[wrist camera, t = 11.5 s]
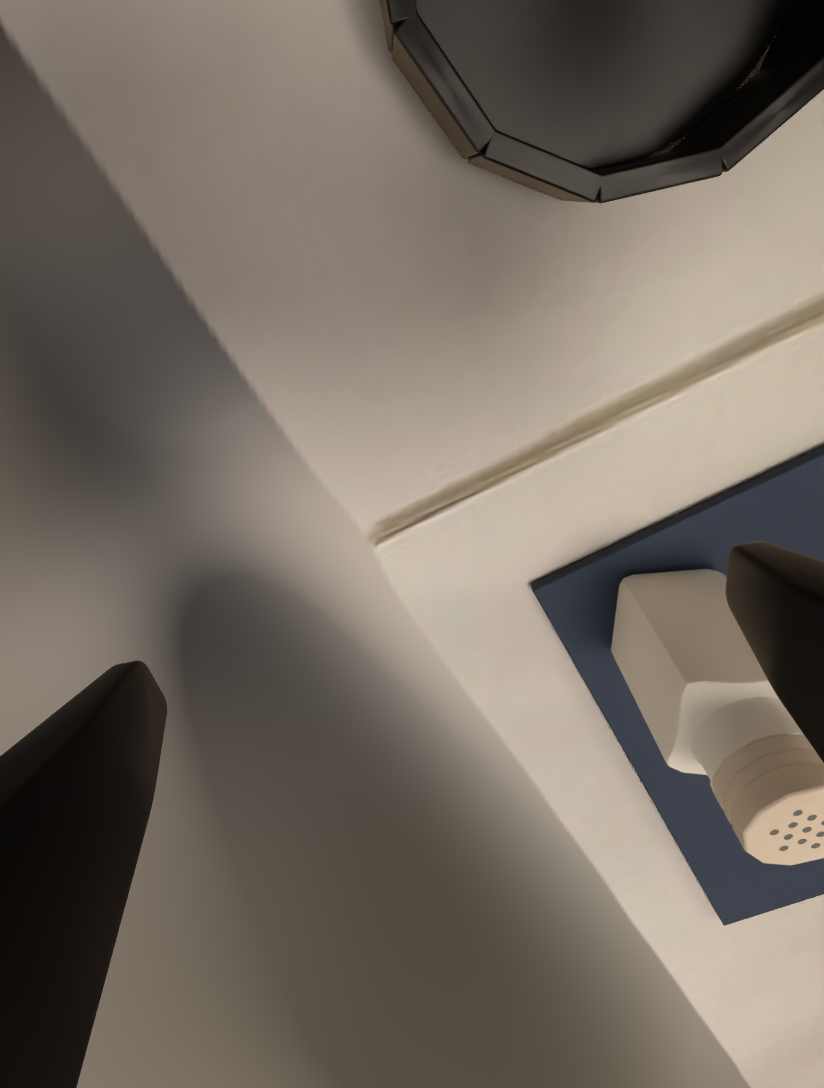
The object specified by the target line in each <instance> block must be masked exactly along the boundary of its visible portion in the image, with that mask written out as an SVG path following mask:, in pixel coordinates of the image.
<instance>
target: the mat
mask: <svg viewBox="0 0 824 1088" xmlns="http://www.w3.org/2000/svg"><path fill="white" fill-rule="evenodd" d="M754 541H763V542H767V543H770V544H773V545H776V546H779V547H782V548H785V549H788V550H791V551H794V552H797V553H800V554H803V555H806V556H809V557H812V558H815V559H818V560H821V561H824V446H822V447H819V448H817V449H815V450H813V451H811V452H809V453H807V454H805V455H803V456H800V457H798V458H796V459H794V460H792V461H790V462H788V463H786V464H784V465H781V466H779V467H777V468H775V469H773V470H771V471H769V472H767V473H764V474H762V475H760V476H758V477H756V478H754V479H752V480H750V481H748V482H745V483H743V484H741V485H739V486H737V487H735V488H733V489H731V490H729V491H726V492H724V493H722V494H720V495H718V496H716V497H714V498H712V499H710V500H707V501H705V502H703V503H701V504H699V505H697V506H695V507H693V508H691V509H688V510H686V511H684V512H682V513H680V514H678V515H676V516H674V517H672V518H669V519H667V520H665V521H663V522H661V523H659V524H657V525H655V526H653V527H650V528H648V529H646V530H644V531H642V532H640V533H638V534H636V535H634V536H631V537H629V538H627V539H625V540H623V541H621V542H619V543H617V544H615V545H612V546H610V547H608V548H606V549H604V550H602V551H600V552H598V553H596V554H593V555H591V556H589V557H587V558H585V559H583V560H581V561H579V562H576V563H574V564H572V565H570V566H568V567H566V568H564V569H562V570H560V571H557V572H555V573H553V574H551V575H549V576H547V577H545V578H543V579H541V580H538V581H536V582H534V583H532V584H531V587H532V589H533V592H534V594H535V595H536V597H537V599H538V601H539V602H540V604H541V606H542V608H543V609H544V611H545V613H546V615H547V616H548V618H549V620H550V622H551V623H552V625H553V627H554V629H555V630H556V632H557V634H558V636H559V637H560V639H561V641H562V643H563V644H564V646H565V648H566V650H567V651H568V653H569V655H570V657H571V658H572V660H573V662H574V664H575V665H576V667H577V669H578V671H579V672H580V674H581V676H582V678H583V679H584V681H585V683H586V685H587V686H588V688H589V690H590V692H591V693H592V695H593V697H594V699H595V700H596V702H597V704H598V706H599V707H600V709H601V711H602V713H603V714H604V716H605V718H606V720H607V721H608V723H609V725H610V727H611V728H612V730H613V732H614V734H615V735H616V737H617V739H618V741H619V742H620V744H621V746H622V748H623V750H624V751H625V753H626V755H627V757H628V758H629V760H630V762H631V764H632V765H633V767H634V769H635V771H636V772H637V774H638V776H639V778H640V779H641V781H642V783H643V785H644V786H645V788H646V790H647V792H648V793H649V795H650V797H651V799H652V800H653V802H654V804H655V806H656V807H657V809H658V811H659V813H660V814H661V816H662V818H663V820H664V821H665V823H666V825H667V827H668V828H669V830H670V832H671V834H672V835H673V837H674V839H675V841H676V842H677V844H678V846H679V848H680V849H681V851H682V853H683V855H684V856H685V858H686V860H687V862H688V863H689V865H690V867H691V869H692V870H693V872H694V874H695V876H696V877H697V879H698V881H699V883H700V884H701V886H702V888H703V890H704V891H705V893H706V895H707V897H708V898H709V900H710V902H711V904H712V905H713V907H714V909H715V911H716V912H717V914H718V916H719V918H720V919H721V921H722V923H723V925H728V924H731V923H734V922H737V921H740V920H743V919H747V918H750V917H753V916H756V915H759V914H762V913H765V912H769V911H772V910H775V909H778V908H781V907H784V906H788V905H791V904H794V903H797V902H800V901H803V900H806V899H810V898H813V897H816V896H819V895H822V894H824V858H822V859H817V860H813V861H808V862H804V863H800V864H795V865H780V864H768V863H763V862H761V861H760V860H758V859H757V858H755V857H754V856H752V855H751V854H749V853H748V852H746V851H745V850H744V848H743V846H742V845H741V843H740V841H739V839H738V837H737V835H736V834H735V832H734V830H733V828H732V824H730V823H729V821H728V819H727V817H726V815H725V813H724V810H722V808H721V806H720V804H719V803H718V801H717V799H716V797H715V795H714V793H713V791H712V788H711V785H710V779H709V777H708V775H703V774H692V773H683V772H681V771H678V770H676V769H674V768H671V767H669V766H668V765H667V764H666V762H665V760H664V758H663V756H662V754H661V752H660V749H659V747H658V745H657V743H656V741H655V739H654V737H653V735H652V733H651V731H650V729H649V727H648V725H647V723H646V721H645V719H644V717H643V715H642V713H641V711H640V709H639V707H638V705H637V703H636V701H635V699H634V697H633V695H632V693H631V691H630V689H629V687H628V685H627V683H626V681H625V679H624V677H623V675H622V673H621V671H620V669H619V667H618V665H617V663H616V660H615V658H614V656H613V654H612V651H611V646H612V638H613V630H614V622H615V615H616V607H617V599H618V591H619V585H620V583H621V581H622V579H623V578H625V577H628V576H630V575H634V574H647V573H659V572H672V571H684V570H697V569H710V570H715V571H718V572H720V573H722V574H724V575H725V576H727V562H728V554H729V551H730V549H731V548H732V547H733V546H735V545H739V544H744V543H749V542H754Z"/></svg>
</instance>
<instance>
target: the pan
mask: <svg viewBox="0 0 824 1088" xmlns="http://www.w3.org/2000/svg"><path fill="white" fill-rule="evenodd" d="M380 6H381V11H382V17H383V23H384V28H385V34H386V40H387V45H388V50H389V51H391V52H392V59H393V61H394V62H395V64H396V65H397V67H398V68H399V69H400V71H401V72H402V74H403V75H404V76H405V78H406V79H407V81H408V82H409V83H410V85H411V86H412V88H413V89H414V91H415V92H416V93H417V95H418V96H419V98H420V99H421V100H422V102H423V103H424V105H425V106H426V107H427V109H428V110H429V112H430V113H431V114H432V116H433V117H434V119H435V120H436V121H437V123H438V124H439V126H440V127H441V128H442V130H443V131H444V133H445V134H446V136H447V137H448V138H449V140H450V141H451V143H452V144H453V145H454V147H455V148H456V150H457V151H458V152H459V154H460V155H461V157H462V158H466V157H468V159H467V162H468V163H470V164H473V165H475V166H478V167H480V168H483V169H485V170H488V171H490V172H492V173H495V174H497V175H500V176H502V177H505V178H507V179H510V180H512V181H515V182H517V183H520V184H522V185H525V186H527V187H530V188H532V189H535V190H537V191H540V192H542V193H545V194H547V195H550V196H552V197H555V198H557V199H560V200H565V201H578V202H591V203H604V202H609V201H613V200H617V199H622V198H626V197H630V196H635V195H639V194H643V193H648V192H652V191H656V190H661V189H665V188H669V187H674V186H678V185H682V184H687V183H691V182H695V181H700V180H704V179H708V178H713V177H717V176H720V175H721V174H722V172H727V171H729V170H730V169H731V168H732V167H734V166H735V165H736V164H737V163H738V162H739V161H741V160H742V159H743V158H744V157H745V156H746V155H748V154H749V153H750V152H751V151H752V150H753V149H755V148H756V147H757V146H758V145H759V144H760V143H762V142H763V141H764V140H765V139H766V138H767V137H769V136H770V135H771V134H772V133H773V132H774V131H776V130H777V129H778V128H779V127H780V126H781V125H783V124H784V123H785V122H786V121H787V120H788V119H790V118H791V117H792V116H793V115H794V114H795V113H797V112H798V111H799V110H800V109H801V108H802V107H804V106H805V105H806V104H807V103H808V102H809V101H811V100H812V99H813V98H814V97H815V96H816V95H818V94H819V93H820V92H821V91H822V90H823V89H824V0H380ZM785 16H786V17H785ZM784 18H785V19H784ZM783 20H784V21H783ZM782 22H783V23H782ZM781 24H782V25H781ZM780 26H781V27H780ZM779 27H780V29H779ZM778 29H779V31H778ZM777 31H778V33H777ZM776 33H777V35H776ZM775 35H776V37H775ZM774 37H775V39H774V41H773V43H772V45H771V48H770V50H769V52H768V54H767V56H766V58H765V60H764V62H763V64H762V66H761V68H760V70H759V71H758V72H757V73H756V74H755V75H754V76H753V77H752V78H751V79H749V80H748V81H747V82H746V83H745V84H744V85H743V86H742V87H741V88H739V89H738V90H737V91H736V92H735V93H734V94H733V95H732V96H731V97H729V96H730V95H731V94H732V93H733V92H734V91H735V90H736V88H737V87H738V86H739V85H740V84H741V82H742V81H743V80H744V79H745V77H746V76H747V75H748V74H749V73H750V71H751V70H752V69H753V68H754V66H755V65H756V64H757V62H758V61H759V59H760V58H761V56H762V55H763V53H764V52H765V50H766V49H767V47H768V46H769V44H770V43H771V41H772V40H773V38H774ZM728 97H729V98H728ZM727 98H728V99H727ZM726 99H727V100H726ZM725 100H726V101H725ZM724 101H725V102H724ZM723 102H724V103H723ZM722 103H723V104H722ZM721 104H722V105H721ZM705 118H706V119H705ZM704 119H705V120H704ZM703 120H704V121H703ZM702 121H703V122H702ZM700 122H702V123H700ZM699 123H700V124H699ZM698 124H699V125H698ZM697 125H698V126H697ZM695 126H697V127H696V128H695V129H694V130H693V131H692V132H690V133H689V134H688V135H687V136H686V137H685V138H684V139H683V140H681V141H680V142H679V143H678V144H677V145H676V146H675V147H674V148H673V149H671V150H670V151H669V152H668V153H664V154H660V155H656V156H651V157H647V158H643V159H639V160H634V159H637V158H640V157H643V156H645V155H647V154H650V153H652V152H654V151H656V150H658V149H660V148H663V147H665V146H667V145H668V144H670V143H672V142H673V141H675V140H676V139H678V138H679V137H681V136H683V135H684V134H686V133H687V132H689V131H690V130H692V129H693V128H694V127H695ZM631 160H634V161H631ZM627 161H630V162H627ZM624 162H626V163H624ZM611 165H613V166H611ZM604 166H609V167H604ZM598 167H604V168H600V169H596V170H592V169H589V168H598Z"/></svg>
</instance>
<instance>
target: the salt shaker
mask: <svg viewBox="0 0 824 1088" xmlns="http://www.w3.org/2000/svg"><path fill="white" fill-rule="evenodd" d="M611 651H612V654H613V656H614V658H615V660H616V663H617V665H618V667H619V669H620V671H621V673H622V675H623V677H624V679H625V681H626V683H627V685H628V687H629V689H630V691H631V693H632V695H633V697H634V699H635V701H636V703H637V705H638V707H639V709H640V711H641V713H642V715H643V717H644V719H645V721H646V723H647V725H648V727H649V729H650V731H651V733H652V735H653V737H654V739H655V741H656V743H657V745H658V747H659V749H660V752H661V754H662V756H663V758H664V760H665V762H666V764H667V765H668V766H669V767H671V768H674V769H676V770H678V771H681V772H683V773H692V774H703V775H708V777H709V779H710V785H711V788H712V791H713V793H714V795H715V797H716V799H717V801H718V803H719V804H720V806H721V808H722V810H724V813H725V815H726V817H727V819H728V821H729V823H730V824H732V828H733V830H734V832H735V834H736V835H737V837H738V839H739V841H740V843H741V845H742V846H743V848H744V850H745V851H746V852H748V853H749V854H751V855H752V856H754V857H755V858H757V859H758V860H760V861H761V862H763V863H768V864H780V865H795V864H800V863H804V862H808V861H813V860H817V859H822V858H824V763H823V761H822V760H821V759H820V757H819V756H818V754H817V753H816V751H815V750H814V748H813V747H812V746H811V744H810V743H809V741H808V740H807V738H806V737H805V736H804V734H803V733H802V731H801V730H800V728H799V727H798V725H797V724H796V723H795V721H794V720H793V718H792V717H791V715H790V714H789V712H788V711H787V710H786V708H785V707H784V705H783V704H782V702H781V701H780V699H779V698H778V696H777V695H776V693H775V691H774V690H773V688H772V686H771V684H770V683H769V681H768V679H767V677H766V675H765V674H764V672H763V670H762V668H761V666H760V664H759V662H758V660H757V659H756V657H755V655H754V653H753V651H752V649H751V647H750V645H749V644H748V642H747V640H746V638H745V636H744V634H743V632H742V631H741V629H740V627H739V625H738V623H737V621H736V619H735V617H734V616H733V614H732V612H731V610H730V608H729V606H728V603H727V599H726V576H725V575H724V574H722V573H720V572H718V571H715V570H710V569H697V570H684V571H672V572H659V573H647V574H634V575H630V576H628V577H625V578H623V579H622V581H621V583H620V585H619V591H618V599H617V607H616V615H615V622H614V630H613V638H612V646H611Z"/></svg>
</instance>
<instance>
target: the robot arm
mask: <svg viewBox="0 0 824 1088" xmlns="http://www.w3.org/2000/svg"><path fill="white" fill-rule="evenodd" d="M726 599H727V603H728V606H729V608H730V610H731V612H732V614H733V616H734V617H735V619H736V621H737V623H738V625H739V627H740V629H741V631H742V632H743V634H744V636H745V638H746V640H747V642H748V644H749V645H750V647H751V649H752V651H753V653H754V655H755V657H756V659H757V660H758V662H759V664H760V666H761V668H762V670H763V672H764V674H765V675H766V677H767V679H768V681H769V683H770V684H771V686H772V688H773V690H774V691H775V693H776V695H777V696H778V698H779V699H780V701H781V702H782V704H783V705H784V707H785V708H786V710H787V711H788V712H789V714H790V715H791V717H792V718H793V720H794V721H795V723H796V724H797V725H798V727H799V728H800V730H801V731H802V733H803V734H804V736H805V737H806V738H807V740H808V741H809V743H810V744H811V746H812V747H813V748H814V750H815V751H816V753H817V754H818V756H819V757H820V759H821V760H822V761H823V763H824V561H821V560H818V559H815V558H812V557H809V556H806V555H803V554H800V553H797V552H794V551H791V550H788V549H785V548H782V547H779V546H776V545H773V544H770V543H767V542H763V541H754V542H749V543H744V544H739V545H735V546H733V547H732V548H731V549H730V551H729V554H728V562H727V576H726ZM166 716H167V704H166V700H165V697H164V695H163V693H162V691H161V690H160V688H159V686H158V685H157V683H156V681H155V679H154V677H153V676H152V674H151V672H150V670H149V668H148V667H147V666H146V664H144V663H143V662H141V661H133V662H127V663H122V664H118V665H115V666H113V667H111V668H110V669H109V670H107V671H106V672H105V673H104V674H102V675H101V676H100V677H99V678H97V679H96V680H95V681H94V682H92V683H91V684H90V685H89V686H88V687H86V688H85V689H84V690H82V691H81V692H80V693H79V694H77V695H76V696H75V697H74V698H72V699H71V700H70V701H69V702H68V703H66V704H65V705H64V706H62V707H61V708H60V709H59V710H57V711H56V712H55V713H54V714H52V715H51V716H50V717H49V718H48V719H46V720H45V721H44V722H43V723H41V724H40V725H39V726H37V727H36V728H35V729H34V730H33V731H31V732H30V733H29V734H28V735H27V736H25V737H24V738H23V739H21V740H20V741H19V742H18V743H16V744H15V745H14V746H13V747H11V748H10V749H9V750H8V751H7V752H5V753H4V754H3V755H1V756H0V1088H76V1086H77V1083H78V1079H79V1076H80V1071H81V1068H82V1064H83V1061H84V1057H85V1053H86V1049H87V1046H88V1042H89V1039H90V1035H91V1031H92V1027H93V1024H94V1020H95V1016H96V1012H97V1009H98V1005H99V1001H100V998H101V994H102V990H103V986H104V983H105V979H106V975H107V971H108V968H109V964H110V960H111V956H112V953H113V949H114V945H115V942H116V938H117V934H118V931H119V927H120V923H121V919H122V916H123V912H124V908H125V905H126V901H127V897H128V893H129V890H130V886H131V882H132V878H133V875H134V871H135V867H136V864H137V860H138V856H139V853H140V848H141V845H142V841H143V837H144V834H145V830H146V826H147V822H148V819H149V815H150V811H151V807H152V802H153V797H154V792H155V786H156V780H157V774H158V767H159V761H160V755H161V748H162V742H163V735H164V729H165V722H166Z"/></svg>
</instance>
